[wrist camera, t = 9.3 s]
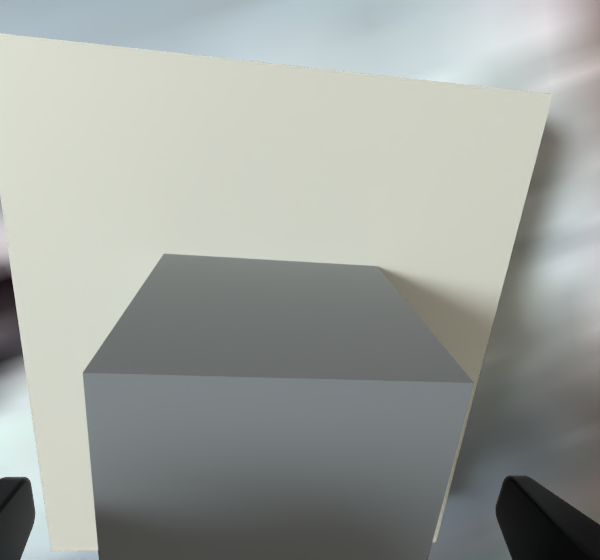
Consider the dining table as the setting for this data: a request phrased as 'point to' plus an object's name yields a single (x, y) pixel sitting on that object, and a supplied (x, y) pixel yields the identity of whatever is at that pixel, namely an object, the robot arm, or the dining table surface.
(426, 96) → the base block
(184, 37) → the dining table surface
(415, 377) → the grey cube
